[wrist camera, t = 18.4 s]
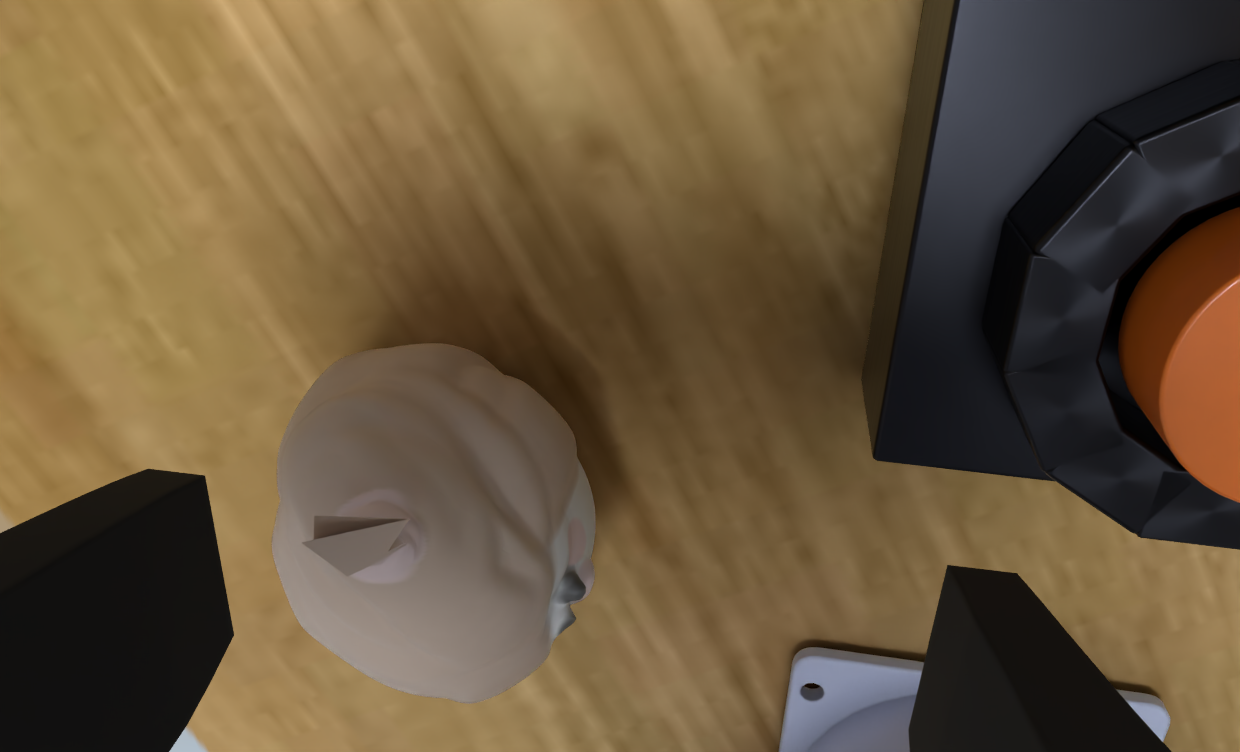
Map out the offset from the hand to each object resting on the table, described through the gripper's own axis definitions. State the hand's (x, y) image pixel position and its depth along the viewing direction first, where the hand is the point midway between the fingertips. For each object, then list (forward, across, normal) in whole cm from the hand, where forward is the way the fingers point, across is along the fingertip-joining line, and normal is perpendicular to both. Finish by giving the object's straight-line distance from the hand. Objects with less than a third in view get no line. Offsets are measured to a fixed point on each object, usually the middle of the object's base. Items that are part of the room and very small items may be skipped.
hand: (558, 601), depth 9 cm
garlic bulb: (+10, +4, +5) cm, 12 cm away
